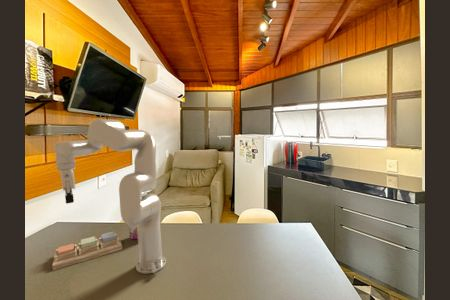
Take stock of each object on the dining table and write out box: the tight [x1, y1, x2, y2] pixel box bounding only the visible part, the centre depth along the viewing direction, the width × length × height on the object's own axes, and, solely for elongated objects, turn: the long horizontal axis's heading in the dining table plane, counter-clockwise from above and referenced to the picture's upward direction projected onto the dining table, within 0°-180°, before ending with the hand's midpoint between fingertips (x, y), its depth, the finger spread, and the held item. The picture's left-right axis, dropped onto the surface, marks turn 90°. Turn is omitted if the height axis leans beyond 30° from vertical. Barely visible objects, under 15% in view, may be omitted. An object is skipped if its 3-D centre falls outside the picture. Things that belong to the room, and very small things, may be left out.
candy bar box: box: [128, 224, 138, 240], centre depth 123 cm, size 11×5×16 cm, turn 84°
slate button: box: [101, 230, 116, 243], centre depth 115 cm, size 6×6×3 cm
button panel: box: [52, 233, 123, 271], centre depth 110 cm, size 14×28×4 cm, turn 124°
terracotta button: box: [57, 243, 75, 255], centre depth 105 cm, size 6×6×3 cm
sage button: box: [80, 235, 96, 249], centre depth 110 cm, size 6×6×3 cm
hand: (69, 202), depth 111 cm, fingers closed
